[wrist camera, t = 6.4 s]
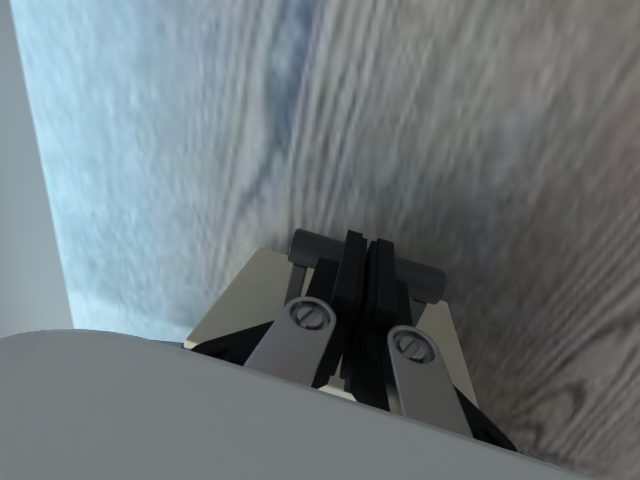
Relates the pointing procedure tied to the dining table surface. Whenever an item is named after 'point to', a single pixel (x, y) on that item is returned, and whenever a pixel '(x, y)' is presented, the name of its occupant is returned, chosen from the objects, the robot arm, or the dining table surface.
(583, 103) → the dining table surface
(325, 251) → the drawer
